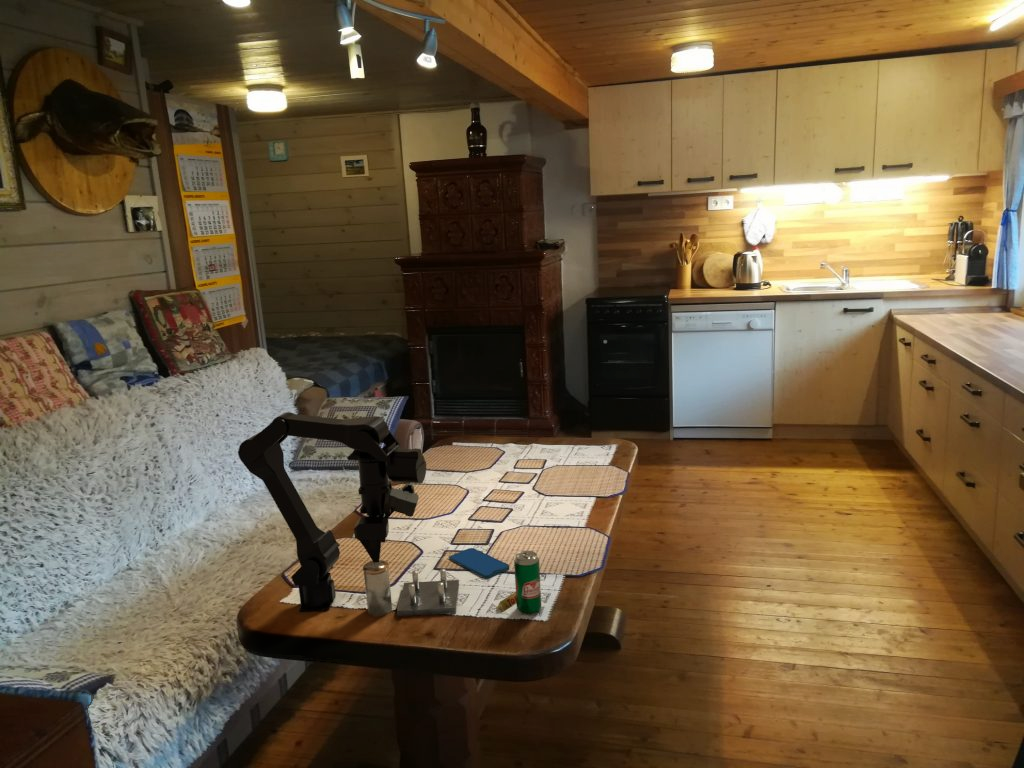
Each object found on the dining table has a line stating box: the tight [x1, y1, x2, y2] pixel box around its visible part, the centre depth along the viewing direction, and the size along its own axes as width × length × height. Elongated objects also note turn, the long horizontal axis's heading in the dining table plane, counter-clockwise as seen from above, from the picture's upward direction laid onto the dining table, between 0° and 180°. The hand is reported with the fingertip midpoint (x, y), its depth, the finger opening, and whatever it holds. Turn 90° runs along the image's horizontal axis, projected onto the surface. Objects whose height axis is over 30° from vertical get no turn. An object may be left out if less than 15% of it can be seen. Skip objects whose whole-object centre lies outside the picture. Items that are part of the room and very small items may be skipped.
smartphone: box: [448, 547, 510, 579], centre depth 177 cm, size 7×1×15 cm
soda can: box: [513, 550, 542, 615], centre depth 154 cm, size 5×5×12 cm
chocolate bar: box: [496, 591, 517, 612], centre depth 161 cm, size 3×12×2 cm, turn 140°
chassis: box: [396, 568, 460, 617], centre depth 161 cm, size 12×12×5 cm
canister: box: [362, 559, 393, 617], centre depth 158 cm, size 5×5×10 cm
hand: (379, 551), depth 156 cm, fingers open, 9 cm apart
